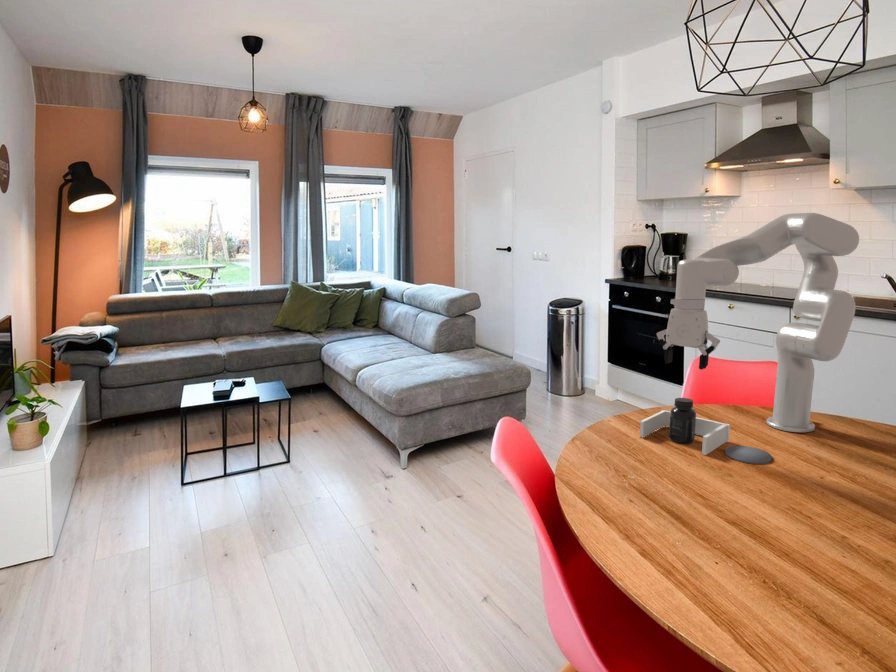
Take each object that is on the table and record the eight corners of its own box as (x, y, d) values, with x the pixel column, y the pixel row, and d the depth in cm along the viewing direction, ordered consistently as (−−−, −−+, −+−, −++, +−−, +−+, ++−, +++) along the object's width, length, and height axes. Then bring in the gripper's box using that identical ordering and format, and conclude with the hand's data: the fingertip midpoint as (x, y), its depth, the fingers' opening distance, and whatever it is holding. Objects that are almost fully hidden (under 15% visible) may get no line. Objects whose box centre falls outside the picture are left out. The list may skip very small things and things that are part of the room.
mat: (734, 444, 158) (734, 442, 158) (777, 455, 150) (777, 453, 150) (718, 455, 150) (718, 453, 150) (763, 467, 142) (763, 465, 142)
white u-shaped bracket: (661, 425, 175) (662, 409, 174) (728, 441, 160) (730, 424, 159) (637, 437, 165) (638, 420, 164) (707, 455, 150) (708, 437, 150)
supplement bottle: (699, 443, 159) (702, 402, 157) (676, 445, 158) (679, 404, 156) (686, 435, 166) (688, 395, 164) (664, 436, 165) (666, 397, 163)
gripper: (653, 303, 159) (649, 362, 162) (716, 309, 146) (711, 373, 149) (665, 301, 164) (661, 358, 167) (727, 306, 151) (722, 368, 154)
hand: (685, 365), depth 158 cm, fingers open, 9 cm apart
